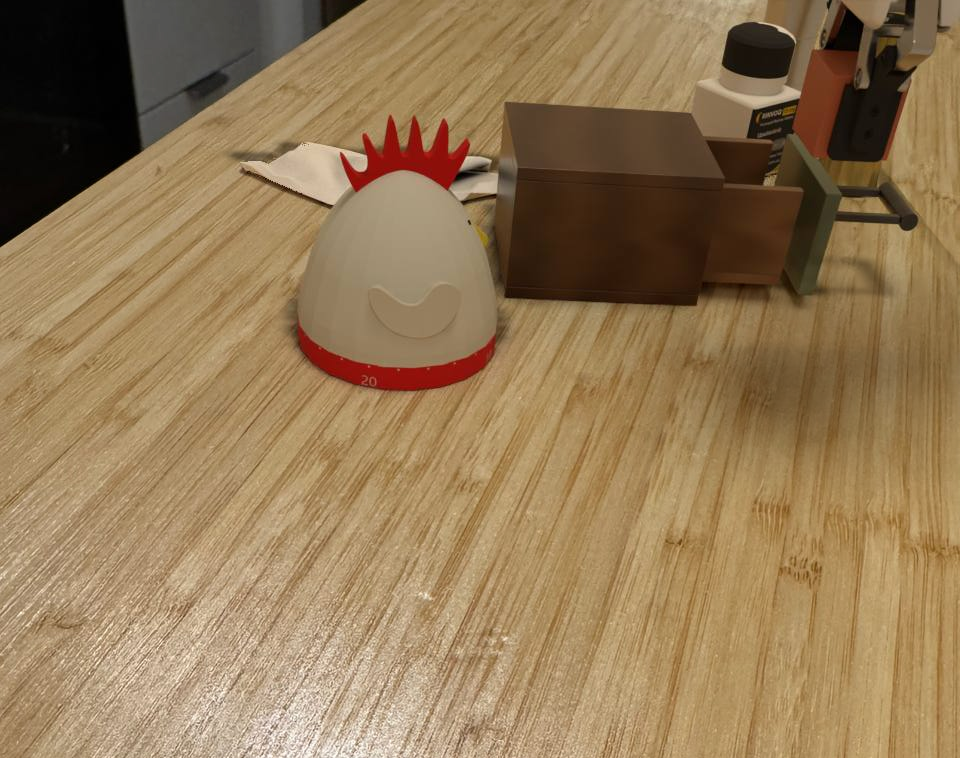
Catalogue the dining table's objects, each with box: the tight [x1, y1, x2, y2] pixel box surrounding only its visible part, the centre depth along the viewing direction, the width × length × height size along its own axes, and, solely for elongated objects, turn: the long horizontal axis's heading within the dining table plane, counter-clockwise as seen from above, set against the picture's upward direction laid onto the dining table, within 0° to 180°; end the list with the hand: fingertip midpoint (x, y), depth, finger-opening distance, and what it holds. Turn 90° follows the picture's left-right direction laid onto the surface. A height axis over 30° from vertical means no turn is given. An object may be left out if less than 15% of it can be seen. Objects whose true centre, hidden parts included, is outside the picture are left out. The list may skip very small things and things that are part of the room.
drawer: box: [702, 133, 919, 296], centre depth 89 cm, size 21×12×8 cm, turn 93°
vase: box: [817, 12, 905, 187], centre depth 102 cm, size 6×6×14 cm
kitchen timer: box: [296, 114, 499, 391], centre depth 75 cm, size 14×14×15 cm
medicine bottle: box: [690, 21, 801, 177], centre depth 104 cm, size 7×7×12 cm
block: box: [792, 48, 913, 162], centre depth 66 cm, size 4×4×4 cm
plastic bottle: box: [763, 0, 829, 92], centre depth 110 cm, size 6×7×20 cm
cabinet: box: [493, 101, 725, 307], centre depth 88 cm, size 15×13×10 cm
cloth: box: [239, 141, 498, 206], centre depth 98 cm, size 26×14×2 cm, turn 80°
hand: (840, 138), depth 67 cm, fingers closed on block, 4 cm apart
